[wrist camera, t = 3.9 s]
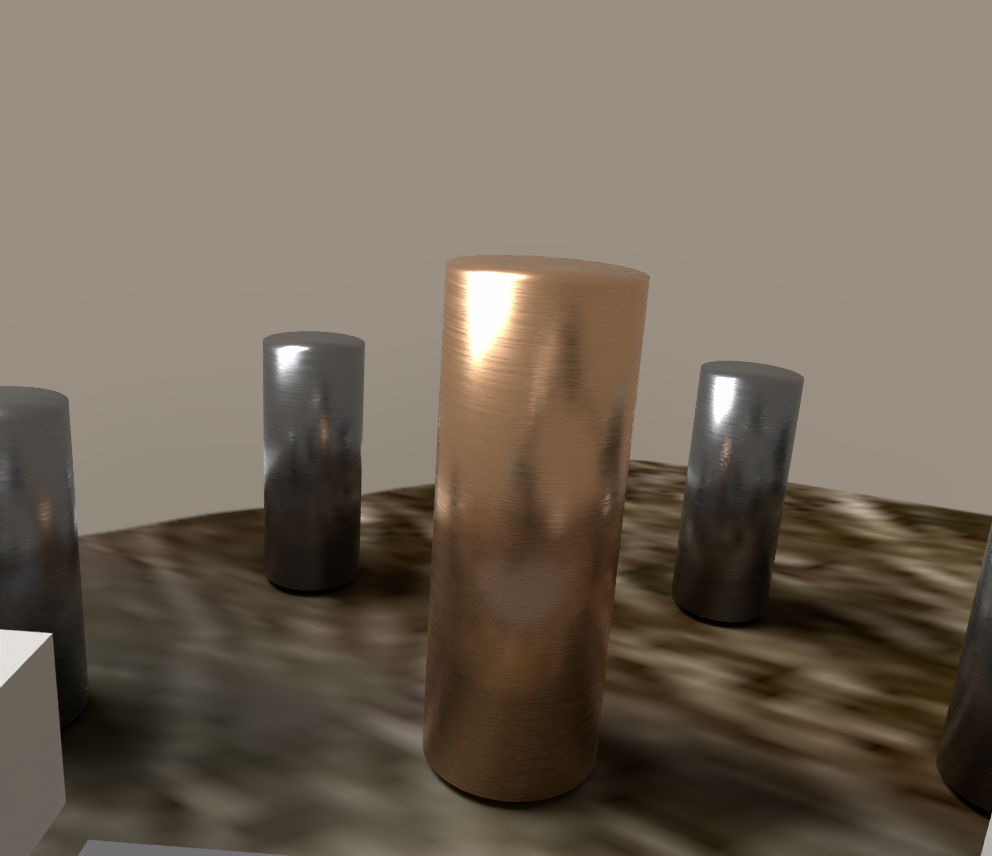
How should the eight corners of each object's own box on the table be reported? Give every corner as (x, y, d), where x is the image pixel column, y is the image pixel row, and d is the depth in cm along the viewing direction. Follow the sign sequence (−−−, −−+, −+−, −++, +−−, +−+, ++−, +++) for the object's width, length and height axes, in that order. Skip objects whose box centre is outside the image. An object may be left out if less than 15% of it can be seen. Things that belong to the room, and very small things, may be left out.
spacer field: (908, 593, 34) (954, 376, 32) (1106, 830, 22) (1201, 514, 20) (126, 535, 34) (115, 317, 32) (-80, 739, 23) (-122, 418, 20)
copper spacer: (591, 701, 26) (637, 263, 23) (602, 808, 22) (662, 291, 18) (431, 689, 26) (453, 250, 23) (413, 794, 22) (436, 276, 19)
